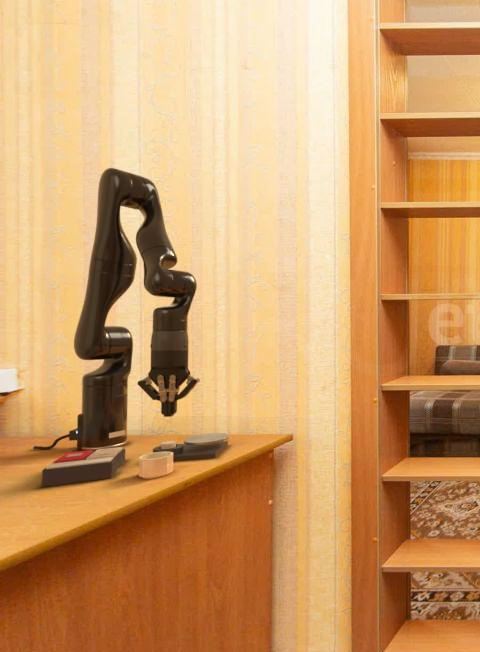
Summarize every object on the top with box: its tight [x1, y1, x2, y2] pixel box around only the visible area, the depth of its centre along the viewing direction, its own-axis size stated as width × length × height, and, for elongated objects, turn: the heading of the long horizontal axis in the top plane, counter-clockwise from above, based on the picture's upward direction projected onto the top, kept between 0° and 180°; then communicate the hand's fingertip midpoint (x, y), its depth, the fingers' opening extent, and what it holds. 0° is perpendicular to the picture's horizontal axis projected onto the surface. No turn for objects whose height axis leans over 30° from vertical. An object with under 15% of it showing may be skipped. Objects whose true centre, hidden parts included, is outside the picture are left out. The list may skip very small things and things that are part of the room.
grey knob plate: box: [152, 440, 229, 462], centre depth 115 cm, size 14×12×3 cm
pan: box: [183, 432, 230, 445], centre depth 118 cm, size 10×10×1 cm
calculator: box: [41, 446, 126, 488], centre depth 100 cm, size 11×4×15 cm
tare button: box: [160, 440, 177, 449], centre depth 111 cm, size 3×3×2 cm
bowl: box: [138, 452, 174, 480], centre depth 99 cm, size 6×6×4 cm
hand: (168, 416), depth 111 cm, fingers closed
